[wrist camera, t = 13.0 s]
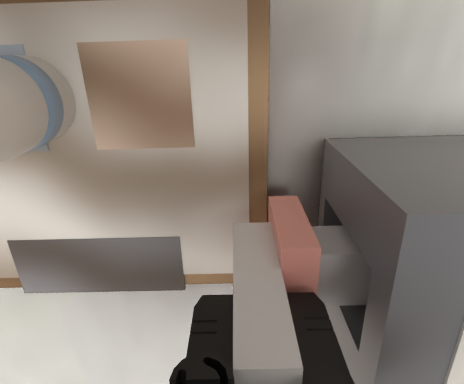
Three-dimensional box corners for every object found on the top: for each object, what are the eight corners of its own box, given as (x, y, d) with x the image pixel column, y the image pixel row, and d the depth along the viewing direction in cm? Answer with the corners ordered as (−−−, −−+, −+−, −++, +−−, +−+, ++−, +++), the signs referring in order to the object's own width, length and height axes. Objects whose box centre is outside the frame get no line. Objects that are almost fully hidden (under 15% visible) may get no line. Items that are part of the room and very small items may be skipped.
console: (325, 138, 14) (409, 216, 7) (491, 134, 14) (733, 208, 7) (312, 289, 17) (364, 442, 10) (448, 287, 17) (589, 440, 10)
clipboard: (-169, -9, 12) (-197, -14, 11) (268, -25, 12) (270, -30, 11) (-43, 284, 17) (-55, 294, 16) (264, 278, 17) (266, 288, 16)
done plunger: (268, 196, 14) (281, 248, 10) (444, 192, 13) (524, 243, 10) (267, 275, 15) (277, 347, 11) (425, 272, 15) (488, 344, 11)
